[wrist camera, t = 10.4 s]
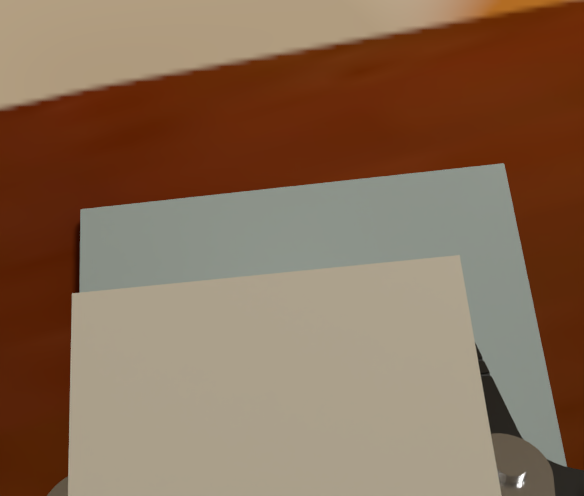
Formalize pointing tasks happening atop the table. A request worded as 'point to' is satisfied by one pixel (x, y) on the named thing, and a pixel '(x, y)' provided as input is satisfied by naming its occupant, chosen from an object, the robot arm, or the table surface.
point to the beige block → (281, 386)
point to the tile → (349, 256)
